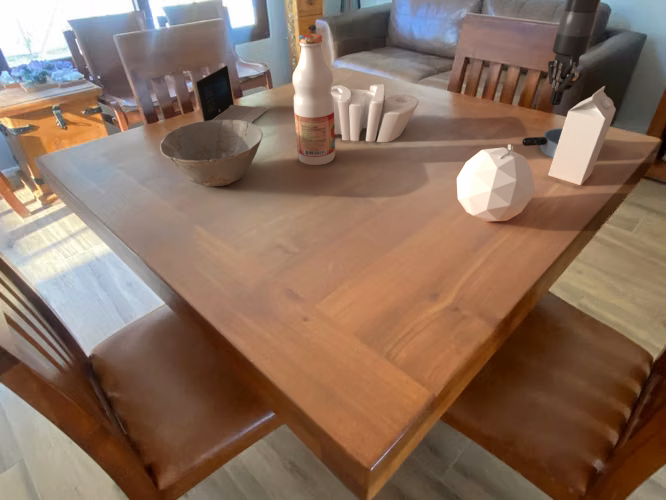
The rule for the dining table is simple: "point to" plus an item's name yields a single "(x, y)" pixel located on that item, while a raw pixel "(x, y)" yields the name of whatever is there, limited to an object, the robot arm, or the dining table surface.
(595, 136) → the milk carton
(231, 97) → the laptop
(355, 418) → the dining table surface
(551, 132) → the pan
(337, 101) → the wavy white extrusion
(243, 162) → the ceramic bowl
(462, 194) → the geodesic sphere
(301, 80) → the fruit juice
